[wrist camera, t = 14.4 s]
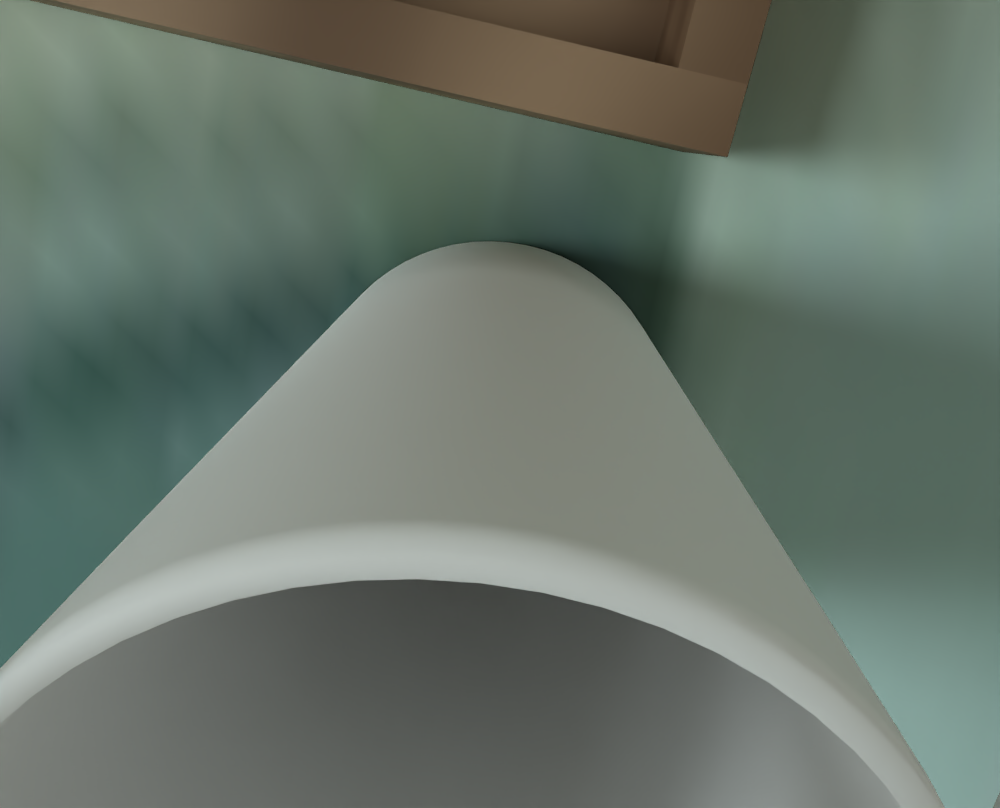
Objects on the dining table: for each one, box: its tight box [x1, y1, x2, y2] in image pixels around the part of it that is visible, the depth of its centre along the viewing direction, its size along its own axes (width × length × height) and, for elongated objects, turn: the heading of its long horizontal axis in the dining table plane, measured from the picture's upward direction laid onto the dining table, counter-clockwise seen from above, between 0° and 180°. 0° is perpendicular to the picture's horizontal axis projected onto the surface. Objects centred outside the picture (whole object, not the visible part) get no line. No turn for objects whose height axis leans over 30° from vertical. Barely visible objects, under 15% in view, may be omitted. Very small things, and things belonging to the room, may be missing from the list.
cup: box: [0, 241, 945, 808], centre depth 14 cm, size 8×8×16 cm
